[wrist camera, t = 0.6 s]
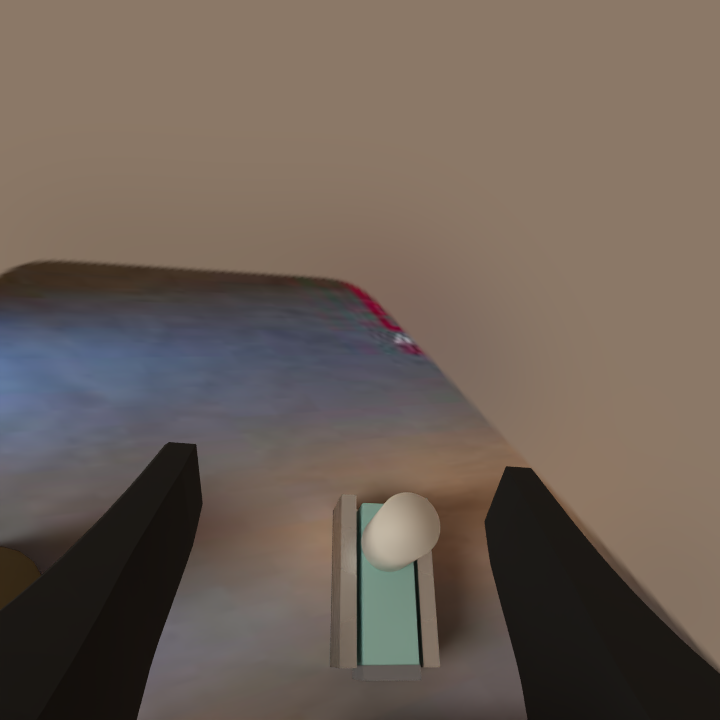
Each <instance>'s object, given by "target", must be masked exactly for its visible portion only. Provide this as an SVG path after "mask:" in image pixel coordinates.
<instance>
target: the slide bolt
mask: <svg viewBox="0 0 720 720" xmlns="http://www.w3.org/2000/svg"><path fill="white" fill-rule="evenodd" d="M439 535H440V520H439V516H438V514H437V512H436V510H435V508H434V507H433V505H432V504H431V503H430V502H429V501H428V500H427V499H425V498H424V497H422V496H421V495H418V494H415V493H411V492H403V493H399V494H396V495H394V496H392V497H391V498H389V499H388V500H387V501H386V502H385V504H376V503H363V504H362V505H361V506H360V508H359V509H358V511H357V512H356V552H357V668H353V679H356V680H361V681H403V680H421V665H419V652H418V634H417V616H416V598H415V581H414V563H413V561H415V560H417V559H418V558H420V557H422V556H423V555H425V554H426V553H428V552H429V551H431V550H432V549H433V547H434V546H435V545H436V543H437V541H438V539H439Z"/></svg>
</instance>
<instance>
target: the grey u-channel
mask: <svg viewBox="0 0 720 720" xmlns="http://www.w3.org/2000/svg"><path fill="white" fill-rule="evenodd" d="M425 499H427V500H428V498H425ZM357 511H358V509H356V495H346V494H342V495H341V497H340V499H339V501H338V503H337V504H336V506H335V508H334V510H333V546H332V594H331V643H330V667H334V668H357V552H356V512H357ZM413 563H414V581H415V598H416V616H417V634H418V652H419V665H421V667H440V658H439V645H438V631H437V618H436V604H435V591H434V577H433V564H432V550H431V551H429V552H428V553H426V554H425V555H423V556H422V557H420V558H418V559H417V560H415V561H413Z"/></svg>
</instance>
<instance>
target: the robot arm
mask: <svg viewBox="0 0 720 720" xmlns="http://www.w3.org/2000/svg"><path fill="white" fill-rule="evenodd" d="M202 504H203V503H202V493H201V484H200V475H199V466H198V457H197V447H196V444H187V443H173V442H168V443H167V444H166V445H164V447H163V448H162V449H161V450H160V451H159V453H158V454H157V455H156V456H155V458H154V459H153V460H152V461H151V462H150V464H149V465H148V466H147V467H146V468H145V470H144V471H143V472H142V473H141V474H140V475H139V477H138V478H137V479H136V480H135V481H134V482H133V483H132V484H131V486H130V487H129V488H128V489H127V490H126V491H125V492H124V493H123V495H122V496H121V497H120V498H119V499H118V500H117V501H116V502H115V503H114V504H113V505H112V506H111V507H110V509H109V510H108V511H107V512H106V513H105V514H104V515H103V516H102V517H101V518H100V519H99V520H98V521H97V522H96V523H95V524H94V525H93V526H92V527H91V528H90V529H89V530H88V531H87V532H86V533H85V534H84V535H83V536H82V537H81V538H80V539H79V540H78V541H77V542H76V543H75V544H74V545H73V546H72V547H71V548H70V549H69V550H68V551H67V552H66V553H65V554H64V555H63V556H62V557H61V558H60V559H59V560H57V561H56V562H55V563H54V564H53V565H52V566H51V567H50V568H49V569H48V570H47V571H45V572H44V573H43V574H42V575H41V576H40V577H39V578H38V579H36V580H35V581H34V582H33V583H32V584H31V585H29V586H28V587H27V588H26V589H25V590H24V591H22V592H21V593H20V594H19V595H18V596H17V597H15V598H14V599H13V600H12V601H10V602H9V603H8V604H7V605H6V606H4V607H3V608H2V609H1V610H0V720H137V716H138V712H139V709H140V705H141V701H142V697H143V693H144V690H145V686H146V682H147V678H148V674H149V670H150V667H151V664H152V660H153V657H154V654H155V651H156V648H157V645H158V642H159V639H160V636H161V633H162V631H163V628H164V625H165V622H166V620H167V617H168V614H169V611H170V608H171V606H172V603H173V600H174V597H175V595H176V592H177V589H178V586H179V583H180V581H181V578H182V575H183V572H184V569H185V567H186V564H187V561H188V558H189V555H190V552H191V549H192V546H193V542H194V538H195V534H196V530H197V526H198V522H199V517H200V513H201V508H202ZM485 529H486V537H487V545H488V551H489V558H490V564H491V568H492V572H493V576H494V580H495V583H496V587H497V591H498V595H499V599H500V602H501V606H502V610H503V613H504V617H505V621H506V625H507V628H508V632H509V636H510V639H511V643H512V647H513V650H514V654H515V658H516V662H517V666H518V670H519V675H520V679H521V684H522V690H523V695H524V701H525V707H526V713H527V718H528V720H720V674H719V673H718V672H717V671H716V670H715V669H714V668H713V667H711V666H710V665H709V664H708V663H707V662H706V661H705V660H703V659H702V658H701V657H700V656H699V655H698V654H697V653H695V652H694V651H693V650H692V649H691V648H690V647H689V646H688V645H687V644H686V643H685V642H684V641H682V640H681V639H680V638H679V637H678V636H677V635H676V634H675V633H674V632H673V631H672V630H671V629H670V628H669V627H668V626H667V625H666V624H665V623H664V622H663V621H662V620H661V619H660V618H659V617H658V616H657V615H656V614H655V613H654V612H653V611H652V610H651V609H650V608H649V607H648V606H647V605H646V604H645V603H644V602H643V601H642V600H641V599H640V598H639V597H638V596H637V595H636V594H635V593H634V592H633V591H632V590H631V589H630V588H629V586H628V585H627V584H626V583H625V582H624V581H623V580H622V579H621V578H620V577H619V575H618V574H617V573H616V572H615V571H614V570H613V569H612V568H611V567H610V565H609V564H608V563H607V562H606V561H605V560H604V559H603V557H602V556H601V555H600V554H599V553H598V552H597V550H596V549H595V548H594V547H593V545H592V544H591V543H590V542H589V541H588V539H587V538H586V537H585V536H584V535H583V533H582V532H581V531H580V530H579V529H578V527H577V526H576V525H575V524H574V522H573V521H572V520H571V519H570V517H569V516H568V515H567V513H566V512H565V511H564V510H563V508H562V507H561V506H560V504H559V503H558V502H557V501H556V499H555V498H554V497H553V495H552V494H551V493H550V492H549V490H548V489H547V488H546V486H545V485H544V484H543V483H542V481H541V480H540V479H539V477H538V476H537V475H536V474H535V472H534V471H533V470H532V469H531V468H522V467H508V466H506V468H505V470H504V473H503V475H502V478H501V480H500V483H499V486H498V488H497V491H496V493H495V496H494V498H493V501H492V504H491V506H490V509H489V511H488V514H487V516H486V519H485Z"/></svg>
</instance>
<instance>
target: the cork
mask: <svg viewBox="0 0 720 720" xmlns="http://www.w3.org/2000/svg"><path fill="white" fill-rule="evenodd" d="M40 576H41V574H40V572H39V571H38V569H37V567H36V565H35V564H34V562H33V561H32V560H30V559H29V558H28V557H26V556H25V555H24V554H22V553H21V552H20V551H16V550H12V549H8V548H5V547H0V610H1V609H2V608H3V607H4V606H6V605H7V604H8V603H9V602H10V601H12V600H13V599H14V598H15V597H17V596H18V595H19V594H20V593H21V592H22V591H24V590H25V589H26V588H27V587H28V586H29V585H31V584H32V583H33V582H34V581H35V580H36V579H38V578H39V577H40Z"/></svg>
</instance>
